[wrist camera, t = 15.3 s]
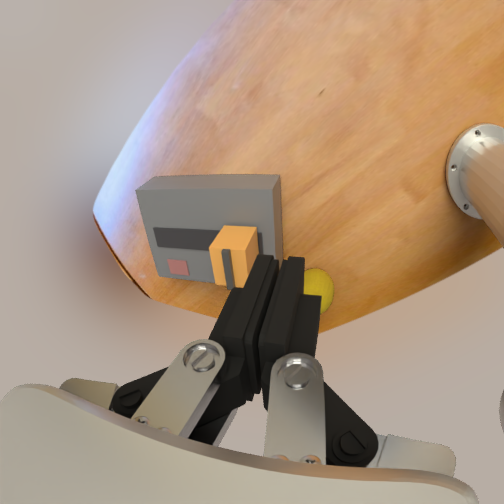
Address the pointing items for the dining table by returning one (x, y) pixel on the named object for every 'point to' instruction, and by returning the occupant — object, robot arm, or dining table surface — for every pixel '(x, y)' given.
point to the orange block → (233, 255)
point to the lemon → (319, 286)
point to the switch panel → (207, 218)
